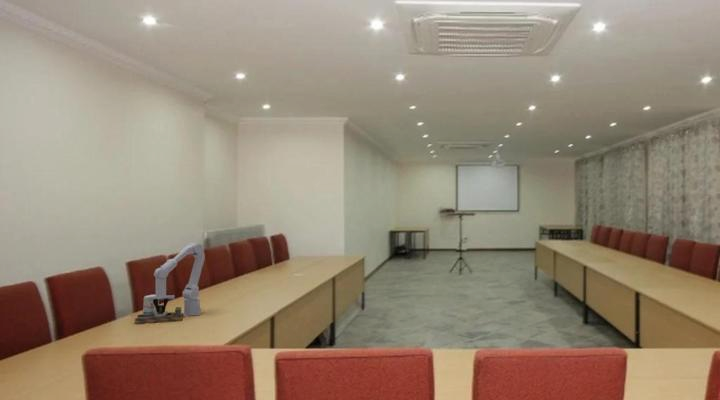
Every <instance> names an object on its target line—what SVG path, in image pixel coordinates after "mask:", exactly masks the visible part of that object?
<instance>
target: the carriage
mask: <svg viewBox="0 0 720 400" xmlns="http://www.w3.org/2000/svg"><path fill="white" fill-rule="evenodd" d="M163 309H164V304H159V305H158V313H157V312H156V313H155V317H159V316H168V313H169V311H166V310H165V312H163Z"/></svg>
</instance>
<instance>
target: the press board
mask: <svg viewBox="0 0 720 400" xmlns="http://www.w3.org/2000/svg"><path fill="white" fill-rule="evenodd" d="M183 314H184V312H183V313H182V307H181V306H178V307H177V306H176V307H175V310H174V311H170V312H169V311H168V316H159V317H155V314H143V313H141V314H137V315H136V316H137V317H135V319H134V325H135V324H136V325H145V323H149V324H158V323H159V324H161V323H171V322H173V323H174V322H182V321H183V319H184V316H183Z"/></svg>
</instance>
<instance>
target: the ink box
mask: <svg viewBox="0 0 720 400" xmlns="http://www.w3.org/2000/svg"><path fill="white" fill-rule="evenodd" d="M151 296H156V294H149V295H144V297H143V309H142V310H143V311H142V314H155V313H156V312H157V311H156V307H155V305H154V303H153V300H149V301H147V297H151ZM158 305H160V300H158Z"/></svg>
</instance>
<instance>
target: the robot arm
mask: <svg viewBox="0 0 720 400" xmlns="http://www.w3.org/2000/svg"><path fill="white" fill-rule="evenodd" d="M187 255H192V256H193V257H194V262H193V264H192V265H193V266H192V269H191V273H190V277H189V280H188V283H187V284H186V285H185V288H184V289H183V291H182V292H181V293H182V297H183V301H184V302H183V304H184V305H183V307H184V309H183V310H184V311H183V317H186V316H187V317H189V316H199V315H201V299H198V298H199V293H200V292H199V290H200V287H199V286H198V285H199V280H200V277H201V275H202V274H201V273H202V270H203V266H204V263H205V259H206V256H205V247H204V245H203V243H201V242H198V243H197V242H189V243H188V244H186V245H185V246H184V248H183V249H181V250H180V251H179V253H178V254H176V255H175V256H174V257H173V258H170V259H167V260H166V262H164V264H162V265H160V267H157V268H156V269H155V271H154V273H153V276H154V277H155V295H156V296H151V297H147V301H149V300H153V303H154V305H155V307H156V311H157V313H158V300H159V301H160V300H163V305H164V309H163V312H165V311H166V307H167V304H168V302H169V301H170V300H174V299H175V294H172V295H170V294H168V295H167V277H168V276H169V273H171V271H173V270H174V269H175V268H176V267H177V266H178V263H179V262H181V260H182V259H184V258H185V257H186V256H187Z"/></svg>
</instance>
